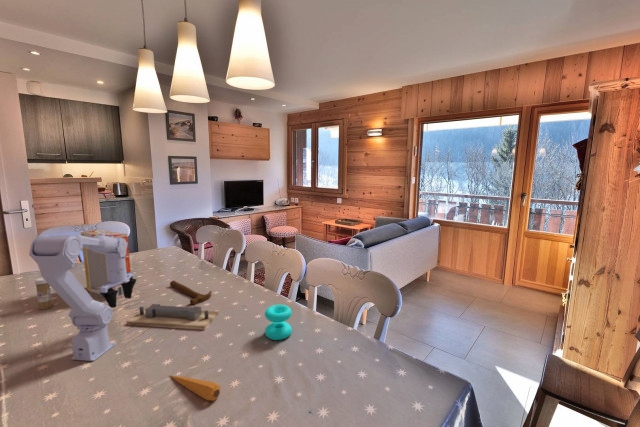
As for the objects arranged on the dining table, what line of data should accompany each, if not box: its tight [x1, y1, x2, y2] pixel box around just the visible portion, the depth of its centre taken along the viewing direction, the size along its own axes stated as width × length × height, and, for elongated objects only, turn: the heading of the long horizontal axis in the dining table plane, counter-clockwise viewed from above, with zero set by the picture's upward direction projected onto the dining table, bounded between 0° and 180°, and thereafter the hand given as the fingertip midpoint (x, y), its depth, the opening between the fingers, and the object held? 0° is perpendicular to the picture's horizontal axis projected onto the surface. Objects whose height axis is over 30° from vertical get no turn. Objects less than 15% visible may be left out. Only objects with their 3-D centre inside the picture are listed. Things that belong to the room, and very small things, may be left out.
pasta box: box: [80, 229, 132, 300], centre depth 145 cm, size 23×8×30 cm, turn 65°
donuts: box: [264, 304, 293, 341], centre depth 110 cm, size 10×10×10 cm
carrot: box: [170, 375, 221, 402], centre depth 83 cm, size 20×4×4 cm, turn 62°
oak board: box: [126, 306, 219, 331], centre depth 120 cm, size 12×32×4 cm, turn 84°
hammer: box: [169, 280, 213, 306], centre depth 147 cm, size 12×3×30 cm
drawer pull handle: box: [144, 303, 202, 321], centre depth 120 cm, size 5×21×4 cm, turn 85°
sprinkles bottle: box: [34, 276, 53, 310], centre depth 129 cm, size 5×5×14 cm
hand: (120, 302), depth 113 cm, fingers open, 7 cm apart
